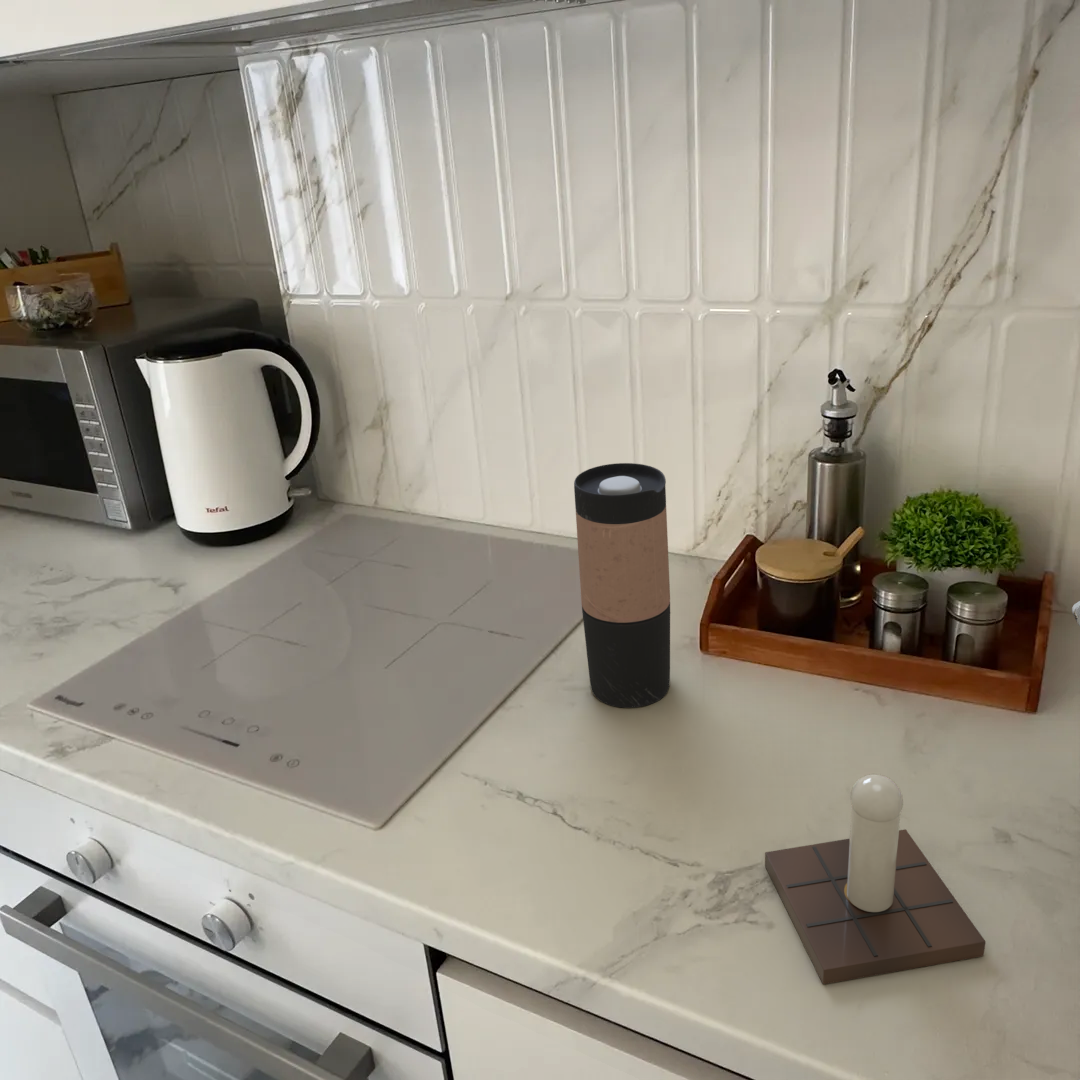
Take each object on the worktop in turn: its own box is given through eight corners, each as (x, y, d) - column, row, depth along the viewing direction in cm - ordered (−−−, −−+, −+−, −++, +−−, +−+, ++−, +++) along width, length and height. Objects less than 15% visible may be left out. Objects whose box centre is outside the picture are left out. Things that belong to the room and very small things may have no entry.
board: (904, 842, 67) (905, 828, 67) (983, 956, 58) (986, 940, 58) (764, 865, 66) (764, 851, 66) (823, 985, 57) (823, 969, 57)
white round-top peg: (881, 875, 63) (890, 760, 59) (903, 909, 60) (914, 791, 57) (837, 883, 63) (843, 767, 59) (857, 917, 60) (864, 799, 56)
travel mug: (576, 674, 90) (560, 472, 82) (652, 656, 92) (644, 456, 84) (605, 718, 84) (591, 502, 75) (687, 697, 85) (681, 484, 77)
